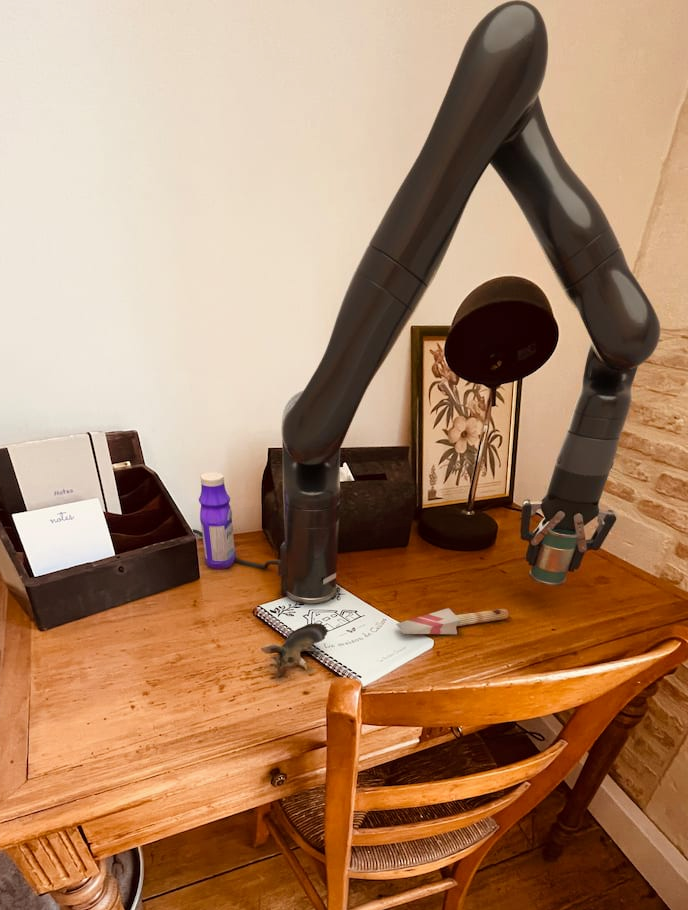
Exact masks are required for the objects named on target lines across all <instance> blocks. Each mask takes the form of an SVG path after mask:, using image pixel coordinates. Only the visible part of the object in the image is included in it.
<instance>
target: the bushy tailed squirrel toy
mask: <svg viewBox="0 0 688 910" xmlns="http://www.w3.org/2000/svg"><path fill="white" fill-rule="evenodd" d="M328 632H329V630H328V629H327V626H326V625H325V624H322V623H319V622H317V623H316V622H314V623H308V624H306V625H303V626H301V627H299V628H297V629H295V630H293V631H291V632H290V633H288V635H287V637H286V639H285V641H284V643H283V644H282V645H277V644H274V643H271V644H267V645H264V646H262V647H260V651H261V652H263V653H264V654H266V655H272V654H278V656H279V657H278V656H271V657H270V659H273V660H275V662H276V663H269V666H270V667H274V668H276V669H277V673H276V677H277V678H279V677H280V676H282V675H284V673H285V672H286V670H287V669H289V668H293V667H296V666H297V665H299V666H300V667H302V668H304V669H305V670H306V671H307V670H308V666H307V662H306V661H305V659H303V658H302V656H301V653H302V652H315V648H313V647H312V646H313V645H314V644H318V643H320V642H322V641H324V640H325V639H326V636H327V635H328Z"/></svg>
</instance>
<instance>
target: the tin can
mask: <svg viewBox="0 0 688 910" xmlns="http://www.w3.org/2000/svg"><path fill="white" fill-rule="evenodd" d="M546 523H547V522H545V523H544V526H545V524H546ZM579 535H580V534H577V533H576V531H567V530H560V529H552V530H548V535H547V536H544V538H543V539H542V540H541V541H540V542H539V549H538V552H537V555H536V559H535V562H534V565H533V566H531V567H530V570H529V573H528V575H529V577H530V579H532V581H534V582H536V583H538V584H541V585H543V586H550V587H559V586H562V585H564V584H565V582H566V581H567V580H566V579H567V575H568V573H569V571H568V570H569V568H570V565H571V562H572V559H573V556H574V553H575V550H576V548H577V542H578V540H577V539H578V537H579Z"/></svg>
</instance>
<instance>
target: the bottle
mask: <svg viewBox="0 0 688 910" xmlns="http://www.w3.org/2000/svg"><path fill="white" fill-rule="evenodd" d="M200 487H201V488H200V489H201V491H200V495H199V498H198V502H199V504H200V509H199V510H200V511H199V520H200V526H201V527H200V528H201V532H202V535H203V537H202V542H203V543H202V544H203V553H204V560H205V563H206V565H207V567H208V568H211V569H214V570H225V569H229V568H230V567H231V566H232V565H233V564H234V562H235V561H234V560H235V558H236V548H235V538H234V527H233V511H232V507H231V505H230V502H231V497H230V495H229V494H228V492H227V489H226V485H225V477H224V474H223V473H221V472H216V471H210V472H205V473H203V474H201V475H200Z"/></svg>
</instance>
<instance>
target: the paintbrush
mask: <svg viewBox="0 0 688 910" xmlns="http://www.w3.org/2000/svg"><path fill="white" fill-rule="evenodd" d="M508 617H509V612H508V610H507V609H506V608H499V609H494V610H485V611H478V612H477V611H476V612H470V613H463V614H455V612H453V611H452V610H451V608H449V607H448V608H444V609H440V610H437V611H434V612H431V613H428V614H424V615H420V616H417V617H415V618H410V619H408V620H405V621H401V622H398V623H395V625H396V626H397V628H398V629H399V630H400V631H401V633H402V634H407V635H410V634H411V635H412V634H413V635H458V631H457V627H461V626H469V625H475V624H481V623H488V622H494V621H502V620H506V619H508Z"/></svg>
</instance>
